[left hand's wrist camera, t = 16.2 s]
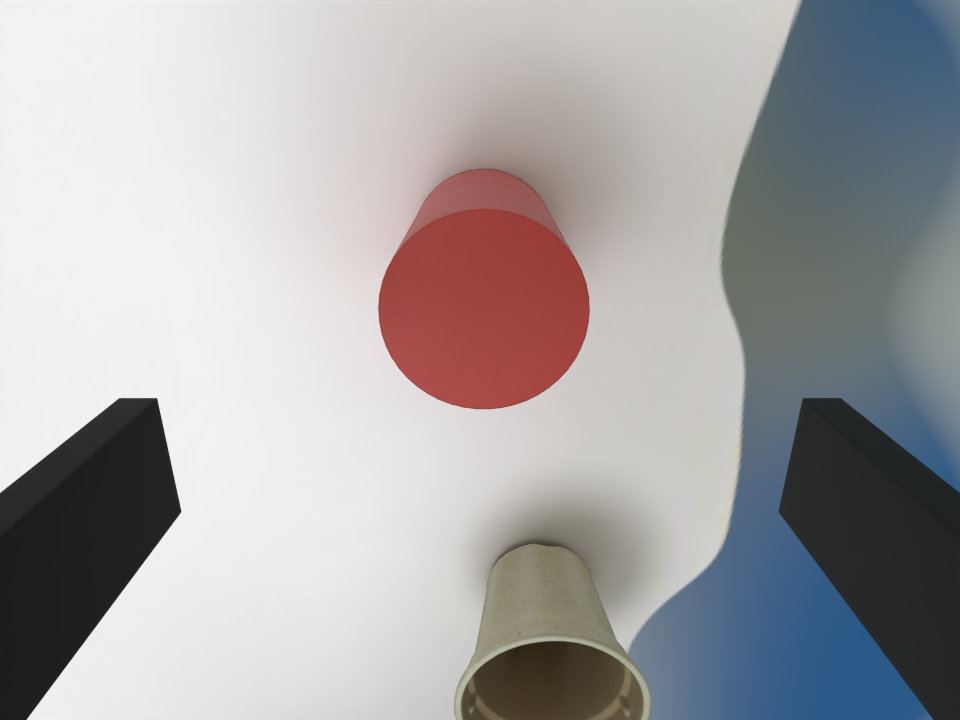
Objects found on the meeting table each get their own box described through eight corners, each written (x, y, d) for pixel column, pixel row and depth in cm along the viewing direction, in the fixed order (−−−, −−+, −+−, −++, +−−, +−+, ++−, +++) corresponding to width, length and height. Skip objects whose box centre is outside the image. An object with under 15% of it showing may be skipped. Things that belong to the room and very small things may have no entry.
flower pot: (433, 605, 38) (420, 737, 31) (507, 493, 35) (514, 609, 27) (563, 658, 40) (583, 797, 32) (645, 556, 37) (690, 682, 29)
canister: (416, 163, 28) (379, 200, 18) (561, 174, 29) (604, 217, 18) (411, 302, 31) (376, 402, 21) (544, 312, 31) (574, 416, 21)
